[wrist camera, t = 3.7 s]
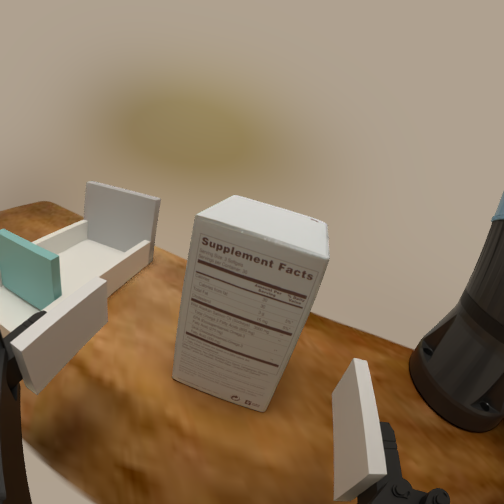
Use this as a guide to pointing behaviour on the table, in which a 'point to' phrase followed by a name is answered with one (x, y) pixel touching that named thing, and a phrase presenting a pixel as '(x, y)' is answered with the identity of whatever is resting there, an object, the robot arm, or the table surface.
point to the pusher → (29, 270)
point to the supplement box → (246, 298)
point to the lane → (94, 247)
